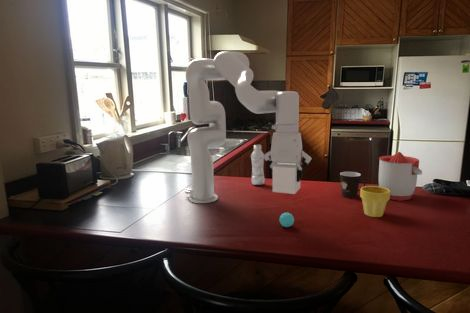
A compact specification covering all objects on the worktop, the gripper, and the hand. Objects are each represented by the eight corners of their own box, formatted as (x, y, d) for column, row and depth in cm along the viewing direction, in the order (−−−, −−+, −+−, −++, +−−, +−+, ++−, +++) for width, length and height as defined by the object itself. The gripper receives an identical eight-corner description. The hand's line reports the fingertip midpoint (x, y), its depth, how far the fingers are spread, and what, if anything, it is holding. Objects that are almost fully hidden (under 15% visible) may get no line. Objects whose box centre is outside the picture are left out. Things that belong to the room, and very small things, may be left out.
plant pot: (387, 210, 139) (389, 186, 137) (389, 220, 129) (391, 194, 127) (359, 208, 142) (360, 184, 140) (359, 217, 133) (360, 192, 131)
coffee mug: (336, 193, 162) (337, 172, 160) (354, 192, 163) (355, 171, 161) (346, 201, 151) (347, 178, 149) (366, 200, 151) (367, 177, 149)
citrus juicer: (410, 206, 143) (414, 157, 140) (370, 197, 156) (372, 151, 152) (426, 197, 153) (430, 152, 150) (387, 189, 166) (389, 147, 162)
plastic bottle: (263, 186, 175) (263, 146, 172) (250, 186, 177) (249, 146, 173) (265, 183, 182) (265, 144, 178) (252, 182, 183) (251, 144, 179)
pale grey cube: (272, 191, 122) (272, 166, 120) (278, 185, 129) (279, 161, 127) (294, 194, 119) (295, 168, 117) (300, 187, 126) (300, 163, 124)
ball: (280, 209, 126) (281, 219, 129) (277, 218, 122) (278, 229, 125) (294, 210, 125) (295, 220, 127) (292, 220, 121) (293, 230, 123)
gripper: (258, 129, 119) (259, 180, 123) (311, 130, 113) (309, 184, 116) (265, 126, 126) (265, 175, 130) (315, 128, 119) (314, 179, 123)
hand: (286, 179), depth 123 cm, fingers closed on pale grey cube, 7 cm apart
